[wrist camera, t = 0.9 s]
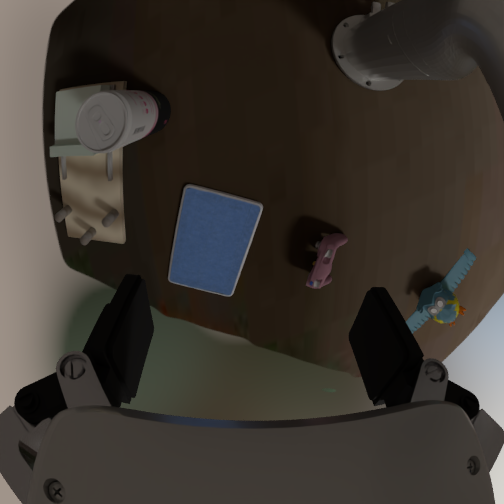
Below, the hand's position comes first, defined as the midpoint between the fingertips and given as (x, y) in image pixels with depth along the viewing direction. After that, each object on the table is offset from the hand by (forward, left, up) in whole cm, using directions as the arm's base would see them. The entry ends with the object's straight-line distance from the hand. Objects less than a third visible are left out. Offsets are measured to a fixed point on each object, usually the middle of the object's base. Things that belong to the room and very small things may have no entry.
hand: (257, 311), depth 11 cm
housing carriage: (-5, -26, -30) cm, 40 cm away
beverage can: (-5, -15, -31) cm, 35 cm away
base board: (+3, -26, -31) cm, 40 cm away
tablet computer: (+16, -4, -32) cm, 36 cm away
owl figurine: (+22, +48, -32) cm, 61 cm away
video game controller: (+15, +15, -31) cm, 38 cm away
